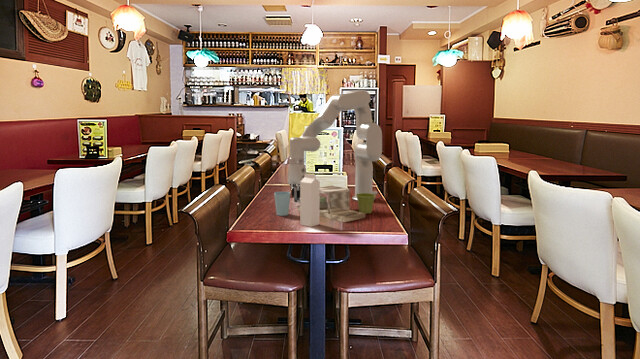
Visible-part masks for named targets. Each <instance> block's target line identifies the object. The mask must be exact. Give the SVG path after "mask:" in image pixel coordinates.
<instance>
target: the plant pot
mask: <svg viewBox="0 0 640 359" xmlns="http://www.w3.org/2000/svg"><path fill="white" fill-rule="evenodd" d="M376 195H377V194H375V195H374V194H369V193H360V194H356V196H357V199H358V201H357V205H358V212H362V213H365V215H366V214H371V213H372V212H373V206H374V201H375V200H374V198H375V199H376Z"/></svg>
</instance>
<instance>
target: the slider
mask: <svg viewBox="0 0 640 359" xmlns="http://www.w3.org/2000/svg"><path fill="white" fill-rule="evenodd" d="M299 187H300V185H299ZM293 202H294V203H298V204H300V198H297V186H294V197H293ZM327 207H328V201H326V202H323V203H319V209H322V208H327ZM330 207H331V202H330Z"/></svg>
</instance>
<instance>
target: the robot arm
mask: <svg viewBox="0 0 640 359" xmlns="http://www.w3.org/2000/svg"><path fill="white" fill-rule="evenodd" d="M370 102H371V95H370V93H369V92H368V91H367V90H364V89H360V90H359V89H358V90H350V91H347V92H346V93H338V94H333V95H331V96H330V97H329V99H328V100H327V102H326V104H325V105H324V107H323V108H322V109H321V111H320V112H319V114H318V115H317V117H316V118H315V119H314V120H313V121H311V123H310V124H309V125H307V127H306V128H305V129H304V131H302V134H301V136H299V137H297V136H295V137H290V138H289V140H288V141H289V147H288V149H289V153H288V154H289V155H288V156H289V157H288V158H289V159H288V160H289V164H288V170H287V172H288V173H287V175H288V176H287V184H288V185H289V186H290V189H291V197H292V198H294V186H297V198H300V187H299V186H300V182H301V181H302V179H303V178H304V177H305V174H307V166H306V164H305V152H311V153H312V152H313V153H314V152H317V151H318V150H319V149H321V148H320V147H321V142H320V140H319V138H317V137H318V135H319V134H321V133H322V132H324V131H326V130H327V129H329V128H330V127H332V126H333V124H334V123H335V120H337V118H338V116H339V115H340V113H341V111H342V112H346V111H352V110H353V111H354V114H355V130H356V131H355V134H356V137H357V138H358V139H359V140H362V141H363V142H361V141H360V142H359V143H357V144H356V145H355V147H354V149H353V156H354V162H355V163H354V164H355V173H354V174H355V177H354V179H355V180H354V181H355V182H354V183H355V184H354V195H353V196H352V198H351V199H352V200H353V201H357V202H358V199H357V196H356V194H360V193H369V194H374V195H377V194H378V191H377V190H374V191H373V177H374V176H373V172H374V167H373V162H377V161H379V160H380V158H381V157H382V152H383V132H382V128H381V126H380V125H379V124H377V123H375V122H373V117H372V109H371V107H370V105H369V104H370ZM375 200H376V197H375V198H374V201H375Z"/></svg>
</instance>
